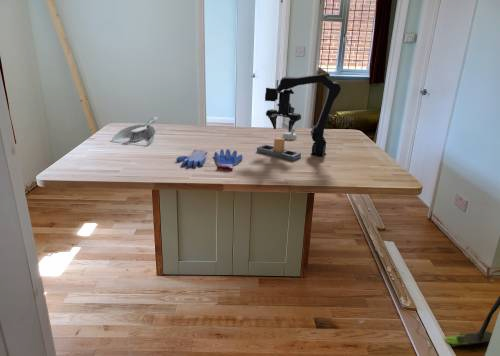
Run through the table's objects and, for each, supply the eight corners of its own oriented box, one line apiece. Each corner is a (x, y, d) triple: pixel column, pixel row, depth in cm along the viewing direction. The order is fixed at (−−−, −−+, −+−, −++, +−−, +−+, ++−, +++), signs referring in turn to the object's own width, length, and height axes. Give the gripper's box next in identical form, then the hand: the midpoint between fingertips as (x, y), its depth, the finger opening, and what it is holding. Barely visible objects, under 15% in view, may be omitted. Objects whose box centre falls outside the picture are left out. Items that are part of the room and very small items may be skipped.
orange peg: (283, 154, 211) (284, 138, 208) (279, 156, 208) (280, 140, 205) (277, 153, 213) (278, 137, 210) (273, 154, 210) (274, 138, 207)
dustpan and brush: (110, 142, 219) (108, 126, 216) (141, 129, 249) (140, 114, 246) (147, 147, 214) (146, 130, 210) (174, 133, 244) (173, 118, 240)
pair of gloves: (172, 168, 186) (171, 161, 184) (184, 152, 209) (184, 145, 208) (238, 173, 184) (238, 165, 182) (243, 156, 208) (243, 149, 206)
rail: (300, 157, 208) (301, 153, 207) (293, 161, 201) (293, 156, 201) (264, 148, 220) (265, 144, 219) (256, 151, 214) (257, 147, 213)
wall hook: (286, 120, 246) (300, 123, 241) (285, 134, 250) (298, 137, 244) (279, 122, 240) (293, 125, 235) (278, 137, 244) (291, 140, 238)
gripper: (307, 102, 206) (304, 130, 212) (276, 97, 216) (275, 125, 222) (297, 105, 198) (294, 134, 204) (266, 100, 207) (264, 128, 213)
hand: (282, 130), depth 211 cm, fingers open, 9 cm apart
